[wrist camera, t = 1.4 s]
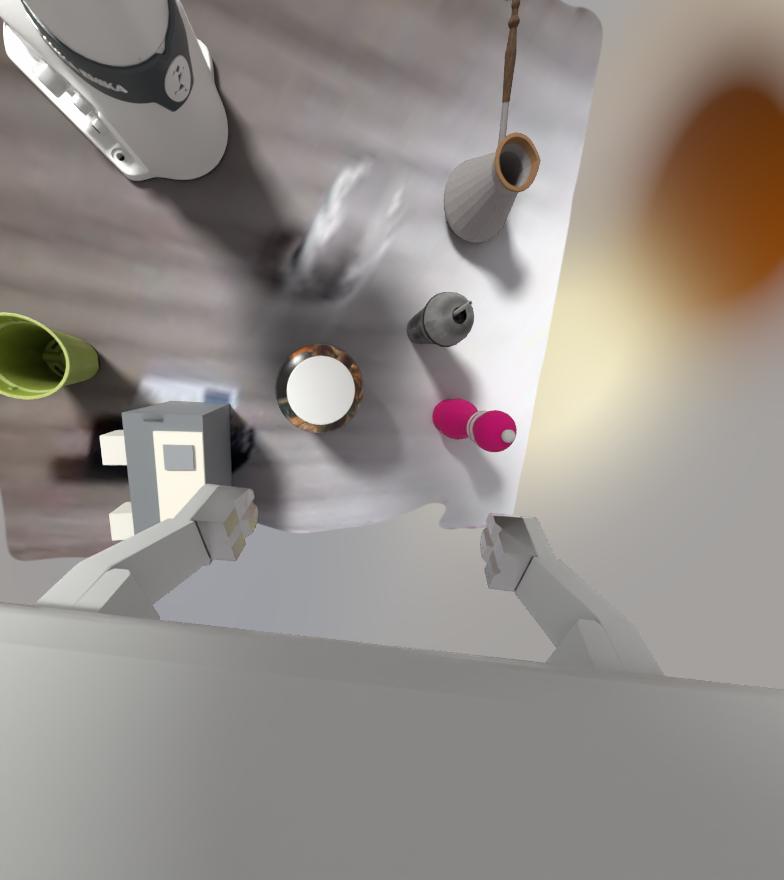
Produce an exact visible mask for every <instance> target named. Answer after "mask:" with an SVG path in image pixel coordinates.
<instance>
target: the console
mask: <svg viewBox="0 0 784 880" xmlns="http://www.w3.org/2000/svg"><path fill="white" fill-rule="evenodd" d="M122 422H123V431H124V441H125V450H126V460H127V469H128V479H129V488H130V498H131V507H132V517H133V526H134V535H136V534H138V533H140V532H142V531H144V530H146V529H148V528H150V527H152V526H154V525H156V524H158V523H160V522H162V521H164V520H166V519H168V518H171V519H173V518H174V517H175V516H176V515H177V514H178V513H179V512H180V510H181V509H182V508H183V507H184V506H185V505H186V504H187V503H188V502H189V500H190V499H191V498H192V497H193V496H194V495H195V494H196V493H197V492H198V490H199V489H200V488H201V487H202V486H203V485H206V484H215V485H225V486H232V475H231V443H230V411H229V404H223V403H202V402H181V401H169V402H165V403H160V404H156V405H152V406H148V407H143V408H139V409H135V410H130V411H126V412H122ZM212 560H213V559H210V561H209V562H208V563H206V564H205V565H204V566H206V565H210V564H211V562H212Z"/></svg>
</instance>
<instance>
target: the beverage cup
mask: <svg viewBox="0 0 784 880" xmlns="http://www.w3.org/2000/svg"><path fill="white" fill-rule="evenodd" d="M471 305H472V301H468V300H467V299H466V298H465V297H464V296H462V295H460V294H458V293H454V292H443V293H440V294H437V295H435V296H434V297H432V298H431V299H430V300H429V302H428V303H427V304H426V306H425V308H423V309H422V310H421V311H420V312H419V313H417V314H416V315H415V316H414V317H413V318H412V319H411V320H410V321H409V323H408V325H407V334H408V336H409V338H410V339H411V340H412V341H413V342H415V343H420V344H436V345H439V346H441V347H450V346H453V345H456V344H457V343H459V342H460V341H461V340H463V339H464V338H465V337H466V336H467V335H468V333H469V332H470V331H471V328H472V325H473V322H474V312H473V308H472V306H471Z"/></svg>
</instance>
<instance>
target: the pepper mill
mask: <svg viewBox="0 0 784 880" xmlns="http://www.w3.org/2000/svg"><path fill="white" fill-rule="evenodd" d="M433 423H434V425H435V426H436V427H437V428H438V429H439V430H441V431H442V433H443V434H445V435H446V436H447V437H450V438H453V439H464V438H467V437H469V438H470V439H471V440H472V441H474V442H476V443H477V444H478V446H479V447H481V448H482V449H484V450H486V451H490V452H500V451H503V450H505V449H507V448H508V447H509V446H510V445H511V444H512V443H513V441H514V439H515V437H516V425H515V422H514V420H513V419H512V418H511V417H510V416H509V415H508V414H506V413H504V412H502V411H496V410H494V411H488V412H487V411H479V412H478V410H477V409H476V407H475V406H474V405H473V404H472V403H470V402H468V401H466V400H463V399H453V400H450V399H448V400H443V401H441V402H440V403H439V404H438V405H437V406H436V407H435V409H434V411H433Z"/></svg>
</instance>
